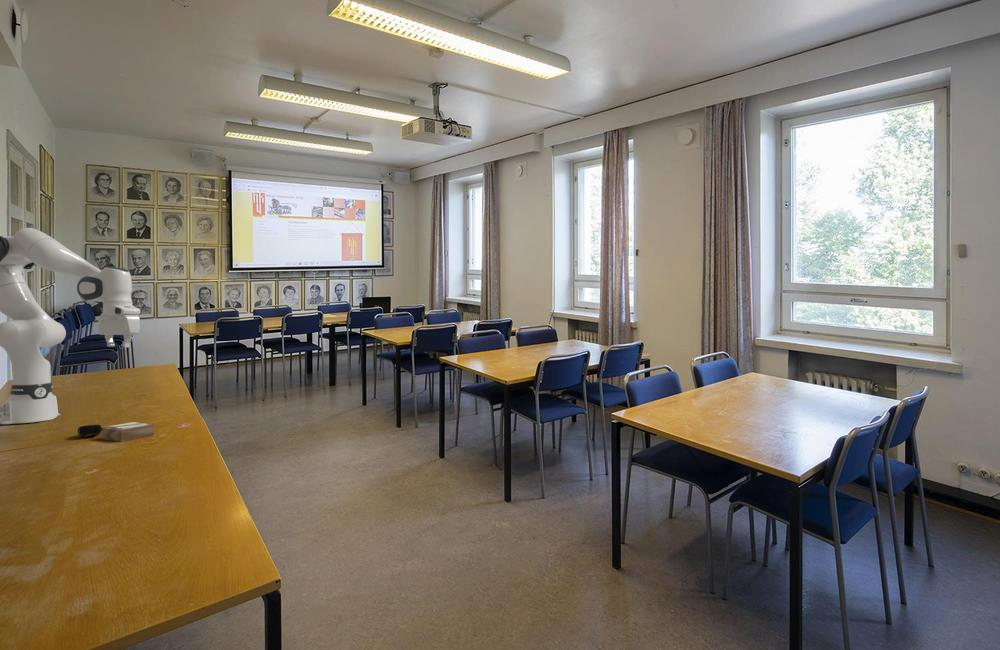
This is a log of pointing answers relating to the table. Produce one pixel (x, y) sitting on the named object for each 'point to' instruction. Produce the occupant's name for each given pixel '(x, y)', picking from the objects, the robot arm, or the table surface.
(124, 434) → the brown white square block
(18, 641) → the table surface
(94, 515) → the table surface
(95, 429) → the tape measure
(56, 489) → the table surface
